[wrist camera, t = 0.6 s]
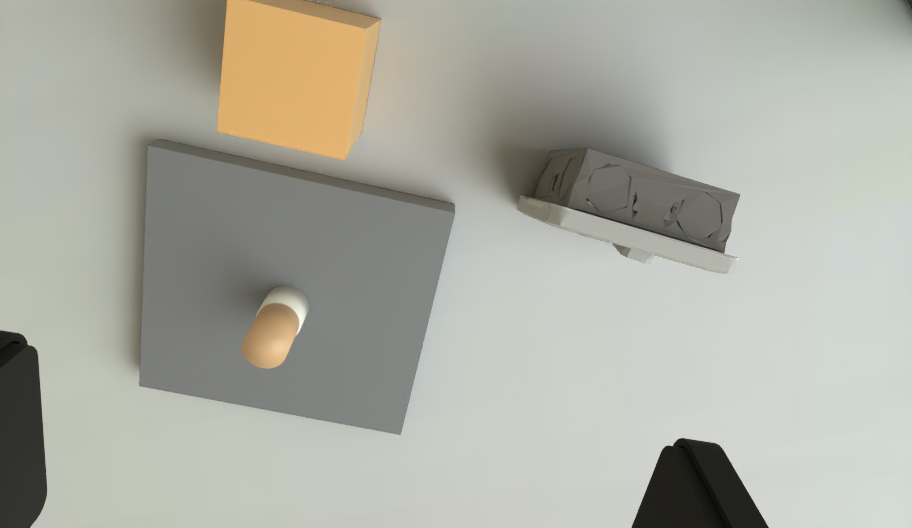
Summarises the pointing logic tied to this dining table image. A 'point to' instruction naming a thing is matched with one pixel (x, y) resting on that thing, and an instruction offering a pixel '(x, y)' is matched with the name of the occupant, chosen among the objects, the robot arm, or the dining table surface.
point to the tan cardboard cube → (296, 74)
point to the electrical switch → (635, 208)
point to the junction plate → (293, 246)
